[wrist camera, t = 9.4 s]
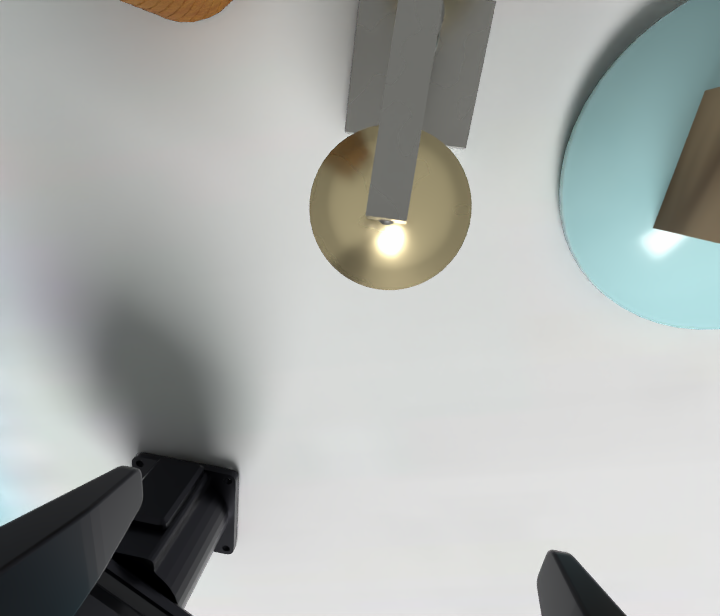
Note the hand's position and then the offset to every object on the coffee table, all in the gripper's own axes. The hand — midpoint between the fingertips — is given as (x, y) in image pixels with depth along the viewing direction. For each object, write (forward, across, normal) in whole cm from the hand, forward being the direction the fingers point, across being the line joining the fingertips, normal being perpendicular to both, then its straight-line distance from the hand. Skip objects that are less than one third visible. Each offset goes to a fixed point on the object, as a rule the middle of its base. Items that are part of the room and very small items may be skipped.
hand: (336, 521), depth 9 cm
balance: (+12, 0, -11) cm, 16 cm away
